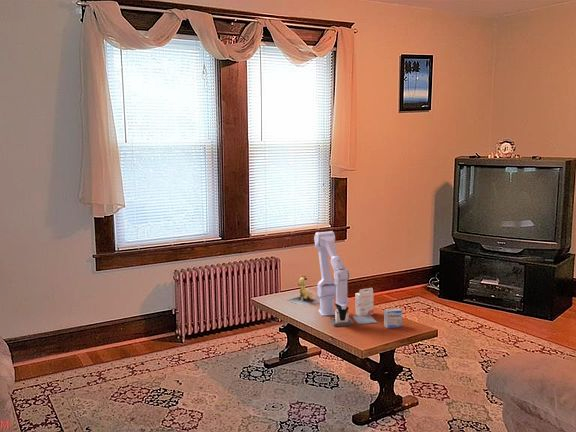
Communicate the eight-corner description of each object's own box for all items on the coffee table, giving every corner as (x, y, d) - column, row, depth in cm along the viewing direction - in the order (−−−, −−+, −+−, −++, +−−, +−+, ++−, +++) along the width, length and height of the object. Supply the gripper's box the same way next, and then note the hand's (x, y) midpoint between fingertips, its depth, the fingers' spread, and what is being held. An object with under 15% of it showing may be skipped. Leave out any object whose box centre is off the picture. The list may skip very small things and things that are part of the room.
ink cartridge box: (369, 312, 303) (369, 285, 301) (373, 314, 298) (373, 287, 296) (355, 314, 300) (354, 287, 298) (359, 317, 295) (359, 289, 293)
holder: (330, 321, 289) (330, 318, 289) (349, 320, 291) (349, 317, 291) (334, 326, 282) (334, 323, 281) (353, 325, 283) (353, 322, 283)
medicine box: (387, 328, 277) (387, 311, 276) (383, 325, 282) (383, 309, 280) (402, 327, 279) (402, 310, 277) (398, 324, 283) (398, 307, 282)
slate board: (352, 317, 295) (352, 316, 295) (370, 316, 296) (370, 315, 296) (358, 324, 284) (358, 323, 284) (376, 323, 285) (376, 321, 285)
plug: (335, 322, 288) (335, 309, 287) (347, 321, 288) (346, 308, 287) (336, 324, 284) (336, 311, 283) (348, 324, 284) (348, 311, 283)
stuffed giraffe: (286, 300, 327) (287, 274, 324) (310, 295, 338) (311, 269, 336) (304, 308, 315) (305, 280, 312) (328, 302, 326) (329, 275, 323)
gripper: (352, 296, 277) (352, 323, 279) (346, 288, 291) (347, 313, 293) (337, 297, 276) (338, 323, 279) (333, 289, 291) (333, 314, 293)
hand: (341, 318), depth 286 cm, fingers closed on plug, 4 cm apart
